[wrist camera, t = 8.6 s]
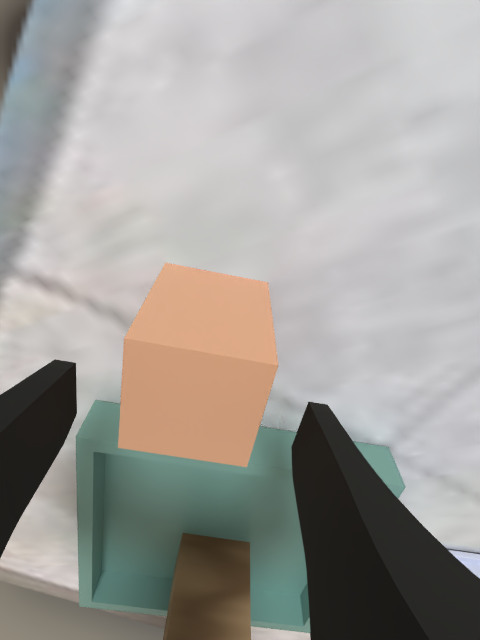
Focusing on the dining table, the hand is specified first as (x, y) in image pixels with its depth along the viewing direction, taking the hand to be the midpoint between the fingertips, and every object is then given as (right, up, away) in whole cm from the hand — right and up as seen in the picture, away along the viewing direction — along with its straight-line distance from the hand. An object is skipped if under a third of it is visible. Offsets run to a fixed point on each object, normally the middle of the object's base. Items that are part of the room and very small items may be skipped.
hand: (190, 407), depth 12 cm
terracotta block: (0, +3, +5) cm, 6 cm away
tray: (0, -10, +12) cm, 16 cm away
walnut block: (0, -13, +13) cm, 19 cm away
